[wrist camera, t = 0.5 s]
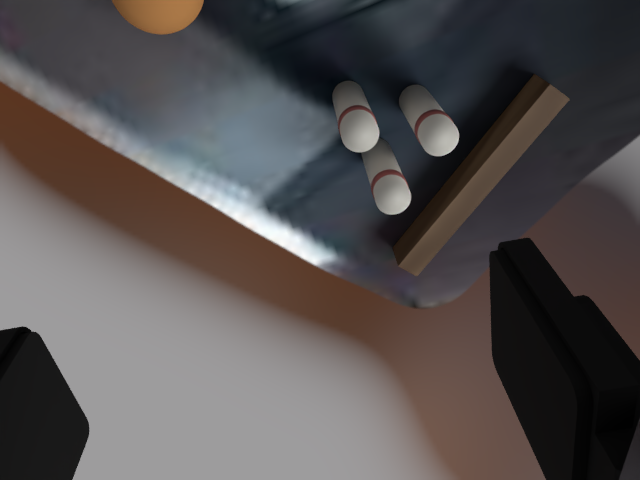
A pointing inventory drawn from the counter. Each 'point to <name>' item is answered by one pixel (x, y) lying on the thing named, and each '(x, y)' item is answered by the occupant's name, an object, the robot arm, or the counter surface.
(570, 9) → the counter surface
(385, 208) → the pin
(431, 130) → the pin
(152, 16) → the ball
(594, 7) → the counter surface
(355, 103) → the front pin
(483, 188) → the back rail
